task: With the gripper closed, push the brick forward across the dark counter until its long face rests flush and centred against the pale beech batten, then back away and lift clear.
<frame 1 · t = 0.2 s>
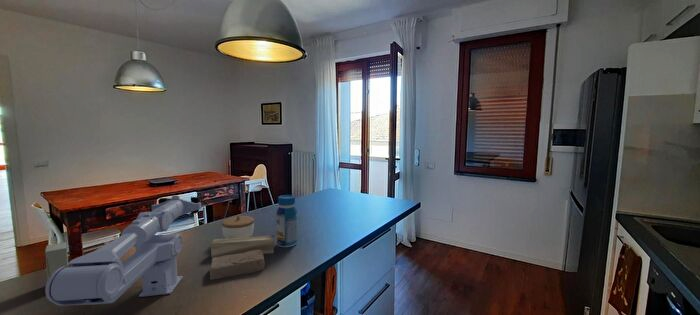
hand: (187, 200, 100), 21 cm above the countertop, tool horizontal, fingers open, 7 cm apart
batten: (244, 253, 106), on the countertop
white round tub: (238, 241, 118), on the countertop
brick: (237, 271, 93), on the countertop
skincare box: (59, 286, 83), on the countertop
beverage bottle: (287, 244, 115), on the countertop
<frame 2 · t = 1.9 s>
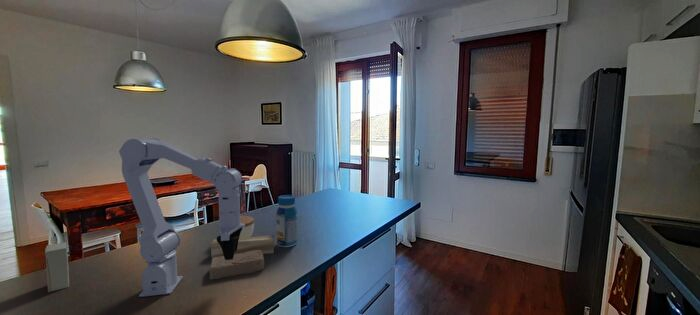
hand: (231, 255, 83), 9 cm above the countertop, tool pointing down, fingers open, 5 cm apart
nothing on the countertop moved.
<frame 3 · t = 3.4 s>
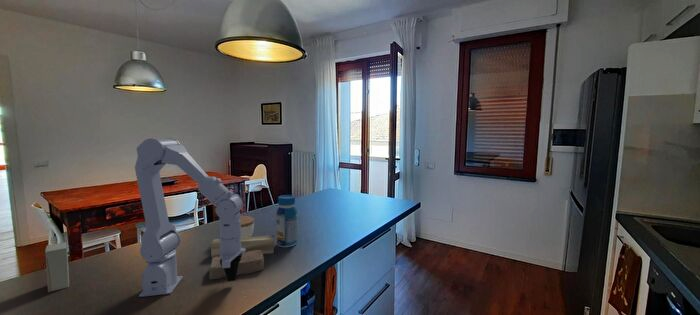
hand: (231, 279, 84), 2 cm above the countertop, tool pointing down, fingers closed
nothing on the countertop moved.
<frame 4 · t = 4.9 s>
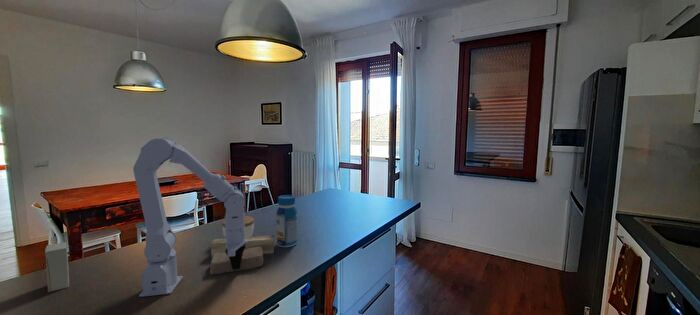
hand: (236, 268, 91), 2 cm above the countertop, tool pointing down, fingers closed
brick: (237, 266, 96), on the countertop
everything else where it was.
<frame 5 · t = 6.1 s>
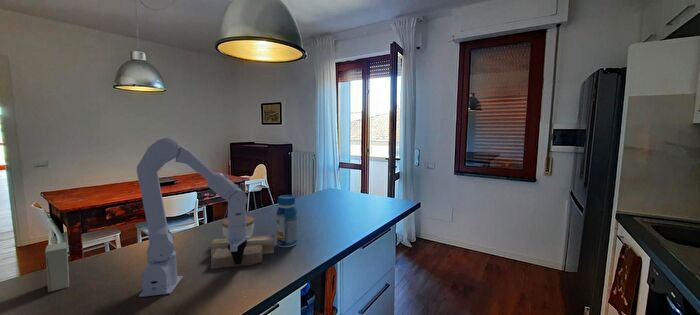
hand: (238, 263, 94), 2 cm above the countertop, tool pointing down, fingers closed
brick: (238, 262, 100), on the countertop
everything else where it was.
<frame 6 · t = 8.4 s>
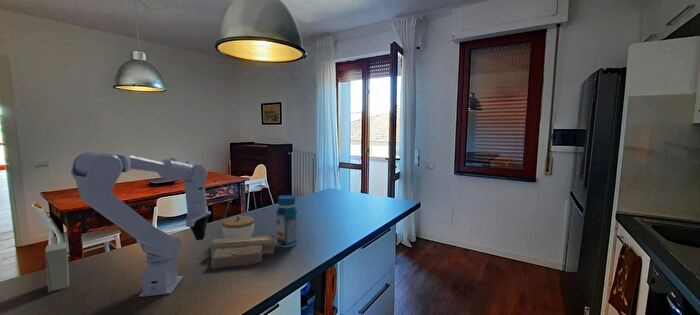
hand: (200, 239, 94), 10 cm above the countertop, tool pointing down, fingers closed
nothing on the countertop moved.
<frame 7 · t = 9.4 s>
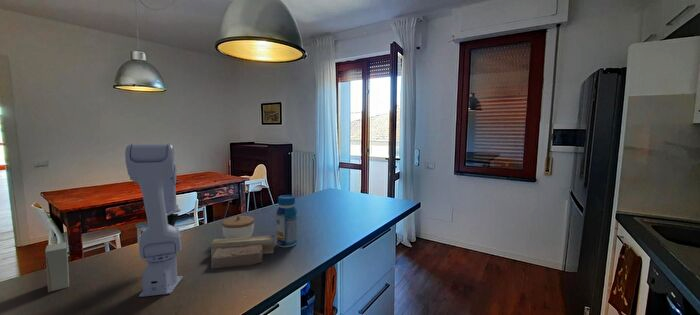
hand: (168, 236, 96), 10 cm above the countertop, tool pointing down, fingers closed
nothing on the countertop moved.
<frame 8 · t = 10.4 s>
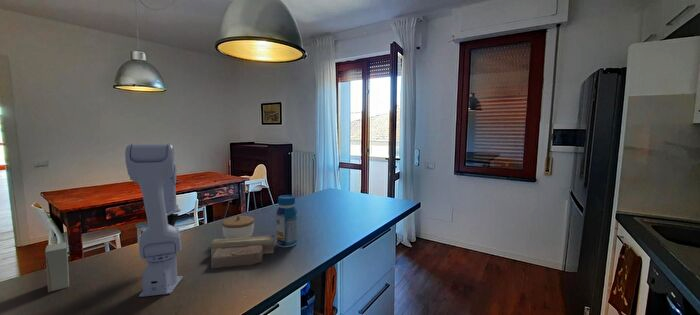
hand: (168, 236, 96), 10 cm above the countertop, tool pointing down, fingers closed
nothing on the countertop moved.
at the end: brick 0.9 cm from the target spot on the countertop beside the batten, on the countertop; brick tilted 0°; brick moved 6.7 cm from its start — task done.
